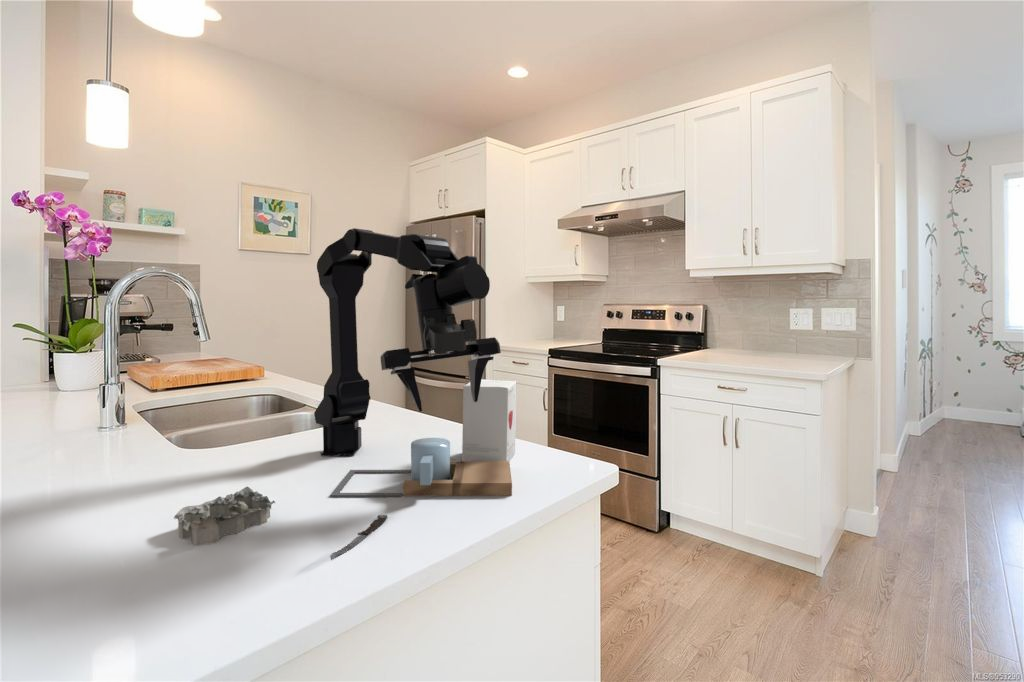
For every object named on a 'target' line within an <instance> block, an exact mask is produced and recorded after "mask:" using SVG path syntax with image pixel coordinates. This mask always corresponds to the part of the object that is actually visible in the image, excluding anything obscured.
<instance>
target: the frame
mask: <svg viewBox="0 0 1024 682" xmlns="http://www.w3.org/2000/svg"><path fill="white" fill-rule="evenodd" d="M354 473H355V474H411V469H350V470H349V471H348V472H347V474H346V475H345V476H344V478H343V479H342V480H341V481H340V482H339V484H338V485H337V486H336V487H335V488H334V489H333V491H331V493H330V495H329V498H401V497H402V496H403V492H342V490H343V489H344V488H345V487H344V486H347V484H348V483H349V482H350V480H351V479H352V478H353V476H355V474H354ZM351 477H352V478H351ZM340 491H341V492H340Z"/></svg>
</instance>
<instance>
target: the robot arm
mask: <svg viewBox="0 0 1024 682" xmlns="http://www.w3.org/2000/svg"><path fill="white" fill-rule="evenodd" d="M353 251H355V252H356V251H357V252H360V253H359V255H358V254H356V253H353ZM372 255H379V256H382V257H388V258H391V259H393V260H396V262H397V263H398V265H401V266H402V267H404V268H406V269H407V270H410V271H421V272H423V273H424V272H428V273H427V274H424V275H423V274H422V273H421V274H420V273H418V274H417V273H412V274H411V276H410V278H409V280H408V281H406V284H405V285H404V288H405V290H414V297H415V305H416V313H417V320H418V321H417V323H418V328H419V334H420V335H419V336H420V341H421V349H422V350H418V351H410V349H409V347H406V348H398V349H390V350H385V351H384V352H383V353H382V354H381V356H380V366H381V371H387V370H391V371H390V375H396V376H397V377H398V378H399V380H400V381H401V383H402V384H403V386H404V388H405V389H406V391H407V392H408V394H409V395H410V397H411V399H412V402H413V403H414V405H415V407H416V409H417V411H418V412H419V413H420V412H422V411H423V408H422V400H421V396H420V391H419V388H418V383H417V380H416V373H415V367H411V364H415V363H421V362H422V363H423V362H428V361H429V362H430V361H436V360H437V361H438V360H445V359H452V358H457V357H467V356H470V358H471V360H467V365H468V374H469V382H470V385H471V394H472V398H473V402H477V401H478V395H479V390H480V385H481V379H483V375H484V372H485V369H486V366H487V364H488V362H490V361H494V355H497V354H498V355H499V354H501V351H502V350H501V346H500V342H499V341H498V339H497V338H496V337H495V336H494V337H493V336H492V337H485V338H480V339H477V338H478V332H477V327H476V326H477V324H476V320H475V319H474V318H467V319H461V320H460V323H457V320H456V315H455V313H454V311H453V307H457V306H460V305H463V304H467V303H471V302H475V301H479V300H482V299H485V298H486V297H487V296H488V294H489V292H490V286H491V284H490V282H491V281H490V278H489V276H488V274H487V273H486V270H485V269H484V268H483V266H482V265H480V264H479V263H478V258H477V256H473V255H465V256H463V257H461V258H458V257H457V255H456V254H455V253H454V251H452V250H451V248H450V245H449V241H448V240H447V239H445V238H443V237H438V236H431V235H422V234H416V233H413V234H411V233H410V234H401V235H400V236H396V235H390V234H386V233H385V234H384V233H380V232H374V231H373V230H369V229H363V228H362V229H361V228H356V227H355V228H351V229H347V231H346V232H345V233H344V235H343V237H341V238H339V239H337V240H336V241H334V242H333V243H331V244H329V245H328V246H326V248H325V250H324V251H323V252H322V253H321V255H320V256H319V258H318V259H317V262H316V270H317V273H318V281H319V282H318V283H319V286H320V287H321V289H322V291H323V292H324V294H325V295H326V297H327V298H328V301H329V302H328V303H329V306H328V308H329V309H328V310H329V327H330V328H329V329H330V331H329V332H330V352H331V353H330V354H331V355H330V356H331V373H330V375H329V376H328V379H327V380H326V382H325V384H324V386H323V398H322V400H321V401H320V403H319V404H318V406H317V408H316V409H315V411H314V413H313V414H314V420H315V423H316V424H317V425H320V426H322V433H323V434H322V437H323V439H322V442H323V443H322V445H323V446H322V447H323V450H322V451H320V456H330V457H331V456H336V457H337V456H338V457H339V456H342V457H343V456H345V457H346V456H349V457H351V456H355V455H356V453H357V452H358V451H359V450H360V449H361V448H362V427H361V426H359V422H360V421H364V420H366V418H367V412H368V409H369V407H370V406H369V405H370V400H371V395H370V381H369V379H364V377H363V376H362V374H361V373H360V371H359V359H358V358H359V356H358V355H359V354H358V330H357V326H358V325H357V308H356V307H357V305H356V303H357V301H356V300H357V299H356V298H357V297H358V295H359V292H360V291H361V289H362V287H363V285H364V277H365V274H366V272H367V271H368V270H369V268H371V266H372V264H373V263H372ZM432 351H433V353H429V352H432Z"/></svg>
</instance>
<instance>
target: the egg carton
mask: <svg viewBox="0 0 1024 682" xmlns="http://www.w3.org/2000/svg"><path fill="white" fill-rule="evenodd" d="M273 504H276V501H275V500H272V501H270V499H269V496H267V495H265V496H264V495H263V494H262V493H260V492H259V491H257V490H256V491H254V490H253V489H252V488H251V487H249V486H245V487H244V488H242V489H240V490H239V491H236V492H235V493H231V494H227V495H225V497H223V496H217V497H216V498H214V499H213V500H208V501H205V502H203V503H201V504H196V505H195V504H194V505H187V506H184V507H182V508H180V509H179V510H178V512H177V513H176V514H175V515H174V516H173V519H174V520H177V522H178V524H177V525H178V527H177V528H178V530H177V531H178V537H179V538H180V539H182V540H184V539H188V538H192V539H191V540H192V545H194V546H196V547H197V546H201V545H208V544H209V545H212V544H215V543H218V542H220V538H222V537H224V536H227V535H233V534H234V535H238V533H239V534H241V533H243V532H245V528H247V527H250V526H253V525H261V526H262V525H263V524H264V525H265V524H266V523H268V519H270V518H271V509H272V505H273Z"/></svg>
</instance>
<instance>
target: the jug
mask: <svg viewBox="0 0 1024 682" xmlns="http://www.w3.org/2000/svg"><path fill="white" fill-rule="evenodd" d="M450 461H451V441H450V440H449V439H446V438H441V437H424V438H418V439H415V440H413V441H411V443H410V470H411V473H410V480H420V485H431V482H432V480H451V475H450Z"/></svg>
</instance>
